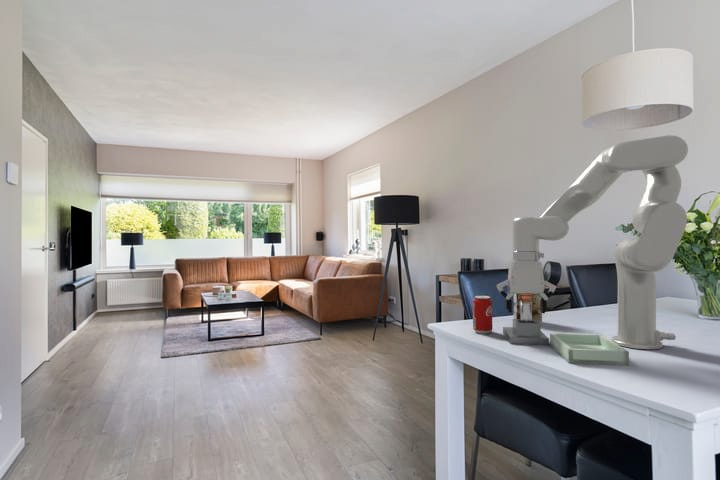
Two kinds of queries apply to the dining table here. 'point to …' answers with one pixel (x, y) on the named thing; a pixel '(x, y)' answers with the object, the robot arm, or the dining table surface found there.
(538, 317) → the coffee box
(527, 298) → the lock pin
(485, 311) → the beverage can
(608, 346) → the tray
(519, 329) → the bracket
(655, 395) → the dining table surface
